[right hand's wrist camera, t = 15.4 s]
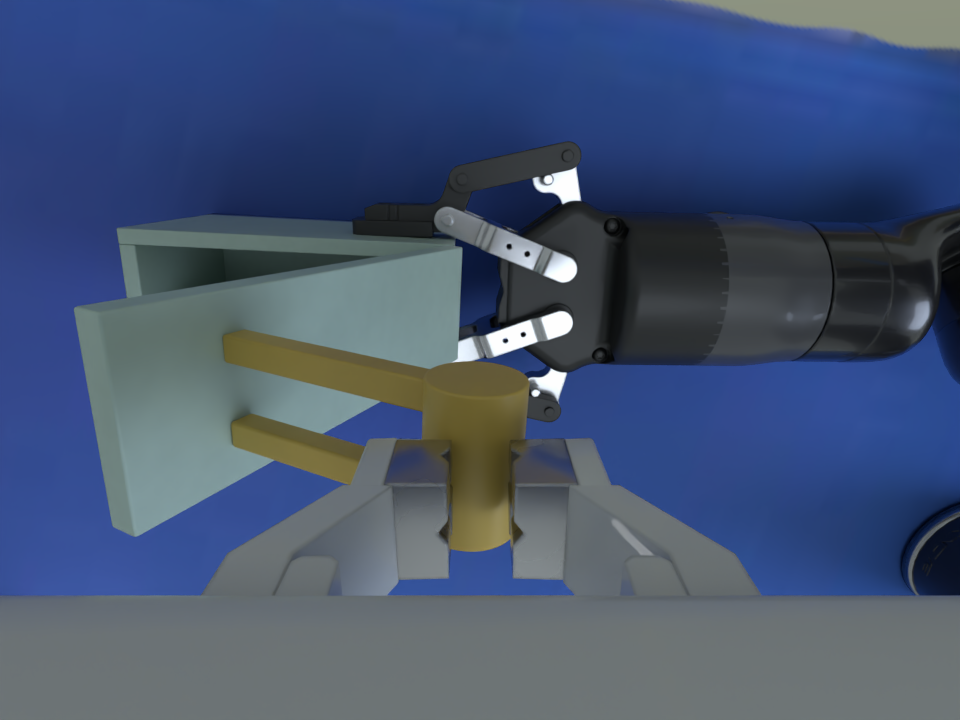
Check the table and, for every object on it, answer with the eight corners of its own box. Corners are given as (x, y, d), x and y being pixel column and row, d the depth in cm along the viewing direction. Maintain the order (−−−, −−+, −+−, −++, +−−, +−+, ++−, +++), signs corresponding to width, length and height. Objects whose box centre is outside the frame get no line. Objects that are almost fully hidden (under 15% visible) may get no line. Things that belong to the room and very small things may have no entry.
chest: (221, 297, 34) (132, 342, 24) (213, 213, 32) (115, 227, 23) (452, 308, 34) (450, 354, 25) (456, 226, 33) (454, 244, 24)
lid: (110, 527, 12) (440, 681, 9) (71, 306, 11) (451, 394, 7) (442, 355, 25) (626, 393, 22) (446, 245, 23) (644, 266, 20)
